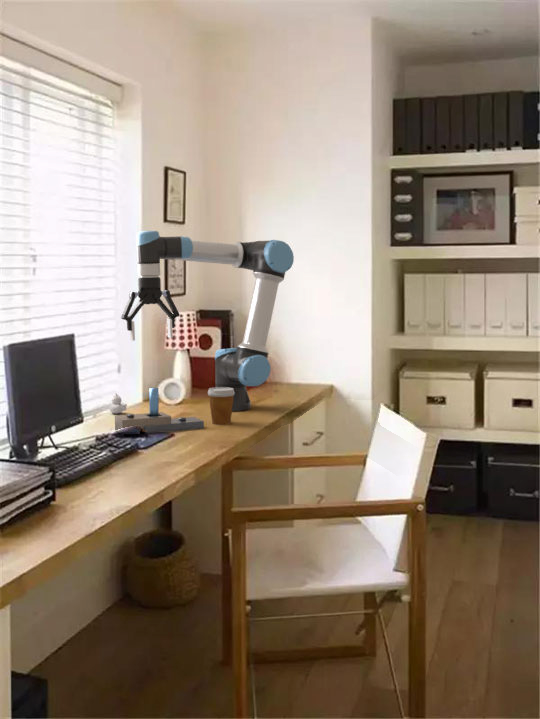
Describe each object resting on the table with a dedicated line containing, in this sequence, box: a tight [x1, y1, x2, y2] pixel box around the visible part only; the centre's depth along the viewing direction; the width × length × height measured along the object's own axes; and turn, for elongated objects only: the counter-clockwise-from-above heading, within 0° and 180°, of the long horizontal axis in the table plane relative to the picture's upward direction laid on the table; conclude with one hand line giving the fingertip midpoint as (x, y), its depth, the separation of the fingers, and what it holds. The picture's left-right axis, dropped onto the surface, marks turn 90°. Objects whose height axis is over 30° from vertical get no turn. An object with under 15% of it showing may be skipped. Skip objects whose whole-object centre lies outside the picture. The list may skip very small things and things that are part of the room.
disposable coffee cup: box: [207, 386, 235, 426], centre depth 302 cm, size 10×10×12 cm
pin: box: [148, 387, 160, 417], centre depth 290 cm, size 3×3×14 cm
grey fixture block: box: [114, 411, 205, 434], centre depth 291 cm, size 28×9×6 cm, turn 115°
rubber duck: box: [109, 393, 128, 415], centre depth 321 cm, size 5×7×8 cm
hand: (151, 339), depth 299 cm, fingers open, 13 cm apart
